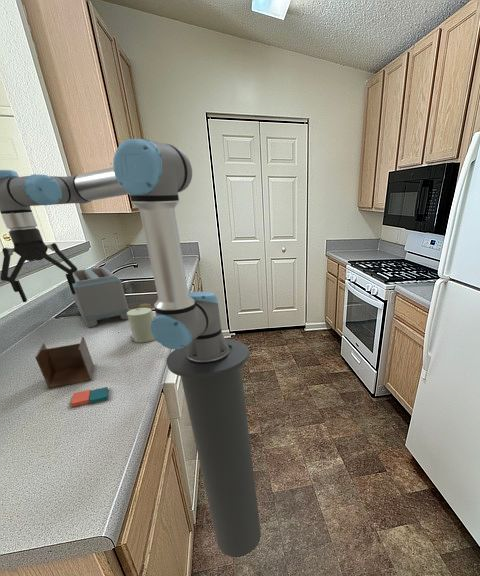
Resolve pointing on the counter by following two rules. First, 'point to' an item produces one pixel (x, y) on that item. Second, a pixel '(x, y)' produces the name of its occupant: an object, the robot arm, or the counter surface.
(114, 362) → the counter surface
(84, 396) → the packet coral
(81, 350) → the brown wooden open box
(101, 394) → the packet teal
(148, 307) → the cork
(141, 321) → the can
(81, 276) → the toaster
